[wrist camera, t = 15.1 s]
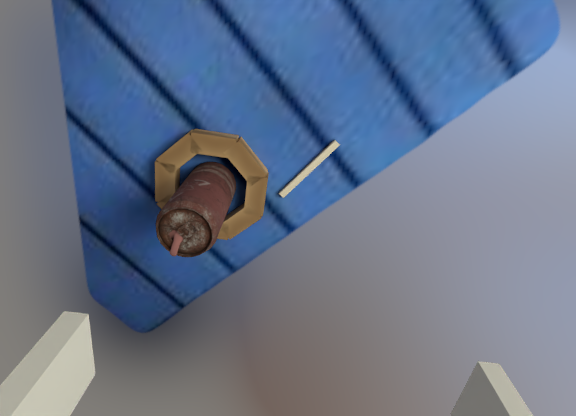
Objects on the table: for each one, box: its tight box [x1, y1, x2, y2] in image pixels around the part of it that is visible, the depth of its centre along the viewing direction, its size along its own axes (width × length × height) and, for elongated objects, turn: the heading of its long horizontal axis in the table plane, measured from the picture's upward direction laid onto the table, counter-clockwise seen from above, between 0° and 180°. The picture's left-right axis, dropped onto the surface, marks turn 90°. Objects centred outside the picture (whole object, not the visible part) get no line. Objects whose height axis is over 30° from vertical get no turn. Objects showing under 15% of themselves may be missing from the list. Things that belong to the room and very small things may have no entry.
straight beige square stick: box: [279, 140, 339, 198], centre depth 45 cm, size 10×1×1 cm, turn 136°
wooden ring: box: [155, 129, 269, 240], centre depth 46 cm, size 14×14×2 cm
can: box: [156, 162, 236, 257], centre depth 40 cm, size 6×6×14 cm
